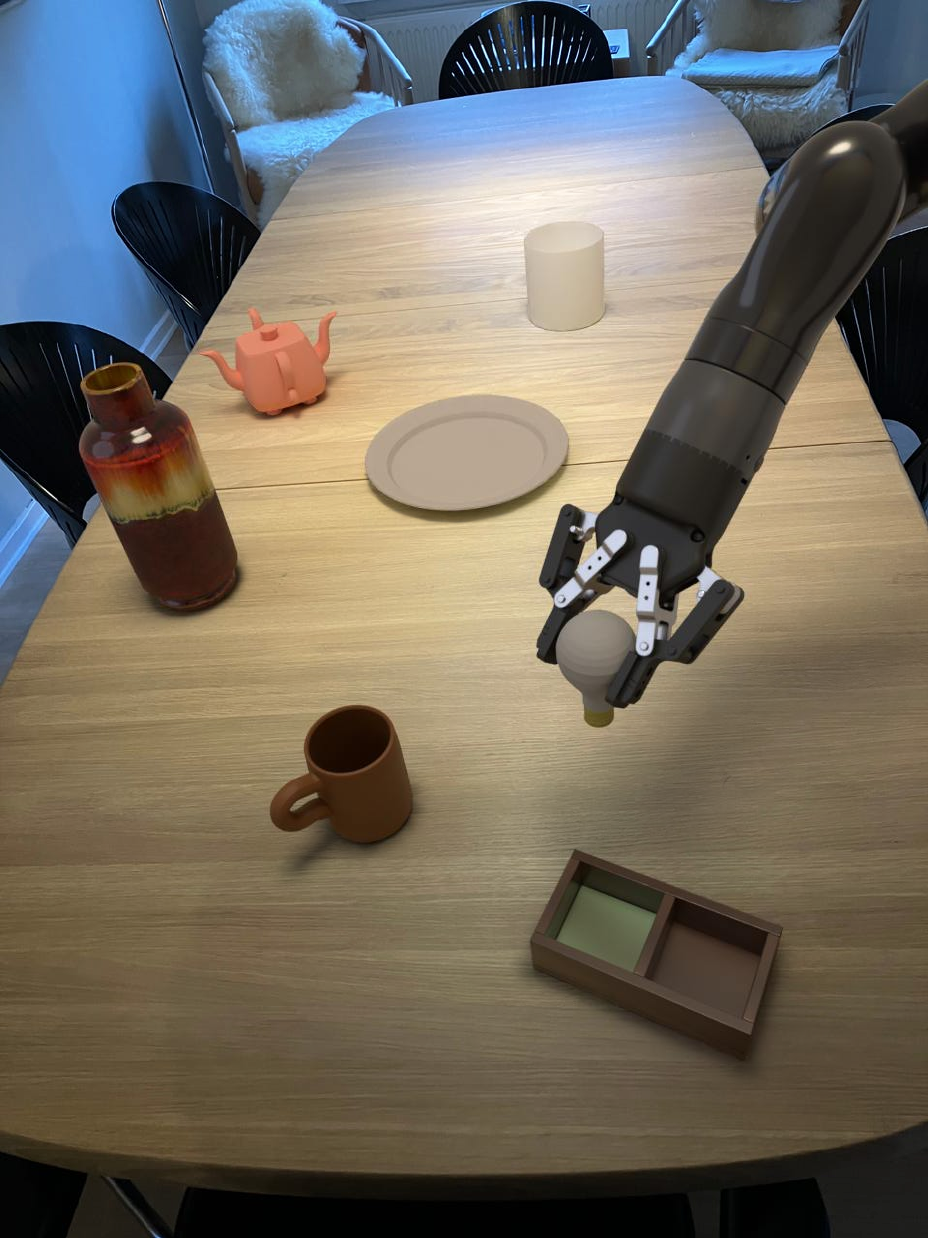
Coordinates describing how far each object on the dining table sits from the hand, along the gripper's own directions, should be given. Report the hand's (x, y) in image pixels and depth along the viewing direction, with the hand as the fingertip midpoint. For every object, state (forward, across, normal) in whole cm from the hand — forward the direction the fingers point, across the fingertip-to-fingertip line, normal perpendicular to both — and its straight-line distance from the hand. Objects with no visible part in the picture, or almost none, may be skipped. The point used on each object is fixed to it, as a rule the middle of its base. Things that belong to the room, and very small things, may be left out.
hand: (580, 682), depth 61 cm
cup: (-36, -65, +62) cm, 97 cm away
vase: (+16, -54, +10) cm, 58 cm away
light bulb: (+3, 0, +5) cm, 6 cm away
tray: (+17, +10, +10) cm, 22 cm away
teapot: (-6, -82, +32) cm, 89 cm away
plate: (-9, -48, +36) cm, 61 cm away
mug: (+22, -16, +5) cm, 28 cm away
